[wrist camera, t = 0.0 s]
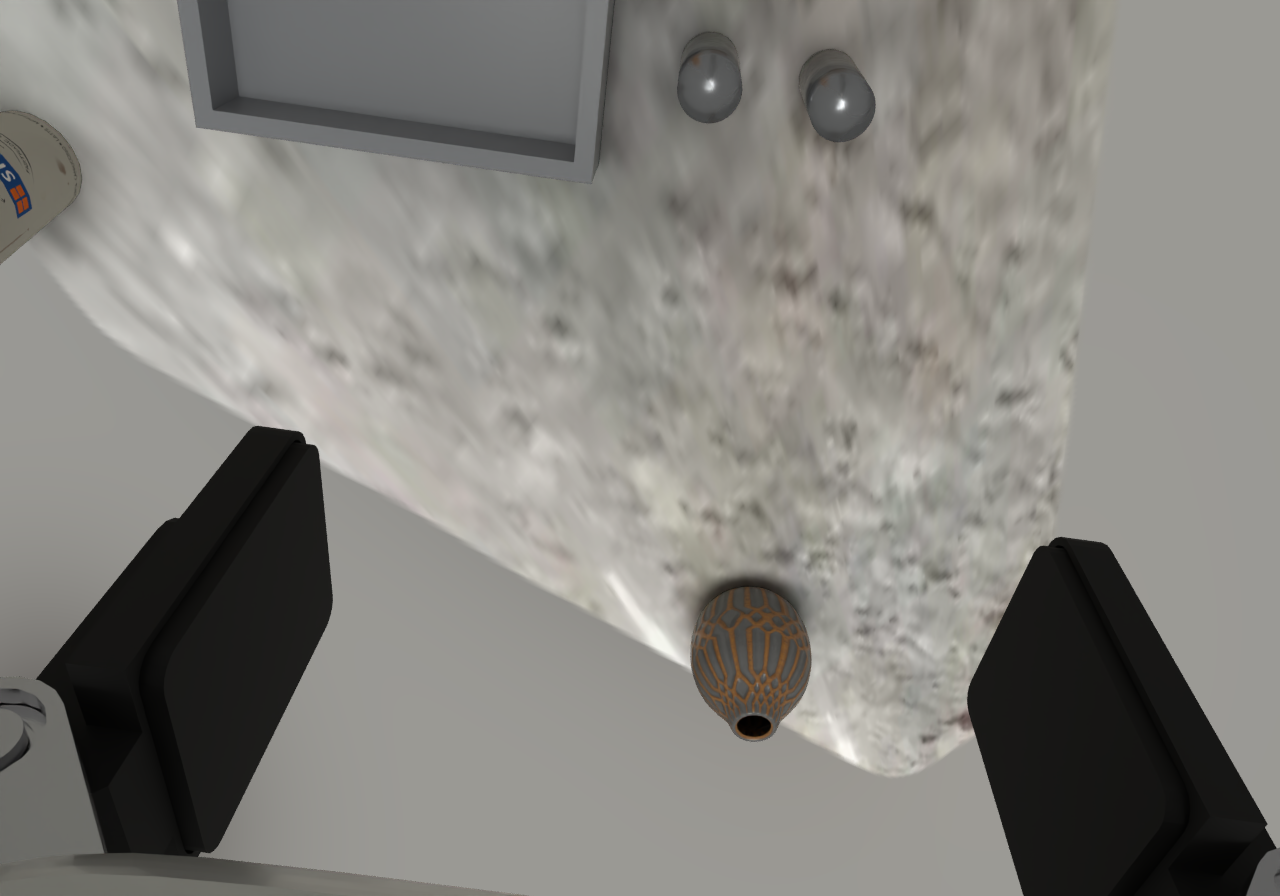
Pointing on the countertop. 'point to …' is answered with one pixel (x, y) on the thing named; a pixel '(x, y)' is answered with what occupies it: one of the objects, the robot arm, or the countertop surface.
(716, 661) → the vase
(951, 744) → the countertop surface
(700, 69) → the peg
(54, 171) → the coffee cup
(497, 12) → the tray
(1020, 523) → the countertop surface
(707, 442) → the countertop surface
